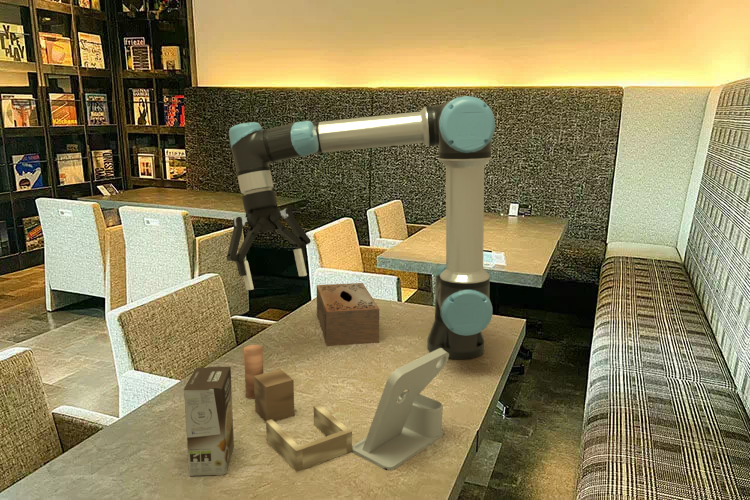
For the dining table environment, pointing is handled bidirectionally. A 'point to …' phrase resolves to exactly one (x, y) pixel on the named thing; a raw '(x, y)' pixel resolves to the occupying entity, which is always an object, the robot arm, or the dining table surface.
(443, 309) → the robot arm
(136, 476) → the dining table surface
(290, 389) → the block
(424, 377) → the phone holder
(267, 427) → the wooden u-shaped frame
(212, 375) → the coffee box
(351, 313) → the tissue box cover
